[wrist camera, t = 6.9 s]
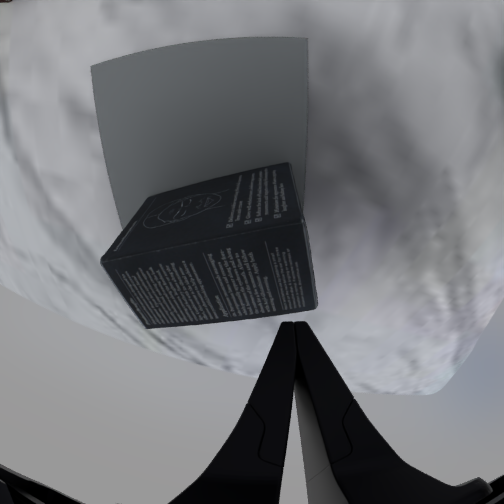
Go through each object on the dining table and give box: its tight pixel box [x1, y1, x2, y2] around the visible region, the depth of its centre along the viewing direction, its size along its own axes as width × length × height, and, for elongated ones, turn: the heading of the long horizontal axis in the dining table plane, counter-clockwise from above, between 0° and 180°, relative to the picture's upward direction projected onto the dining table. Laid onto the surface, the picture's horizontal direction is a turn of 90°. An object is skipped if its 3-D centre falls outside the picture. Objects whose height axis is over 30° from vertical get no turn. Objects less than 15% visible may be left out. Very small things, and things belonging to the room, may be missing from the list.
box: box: [100, 162, 318, 329], centre depth 17 cm, size 8×6×11 cm
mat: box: [91, 37, 308, 229], centre depth 19 cm, size 14×20×1 cm
